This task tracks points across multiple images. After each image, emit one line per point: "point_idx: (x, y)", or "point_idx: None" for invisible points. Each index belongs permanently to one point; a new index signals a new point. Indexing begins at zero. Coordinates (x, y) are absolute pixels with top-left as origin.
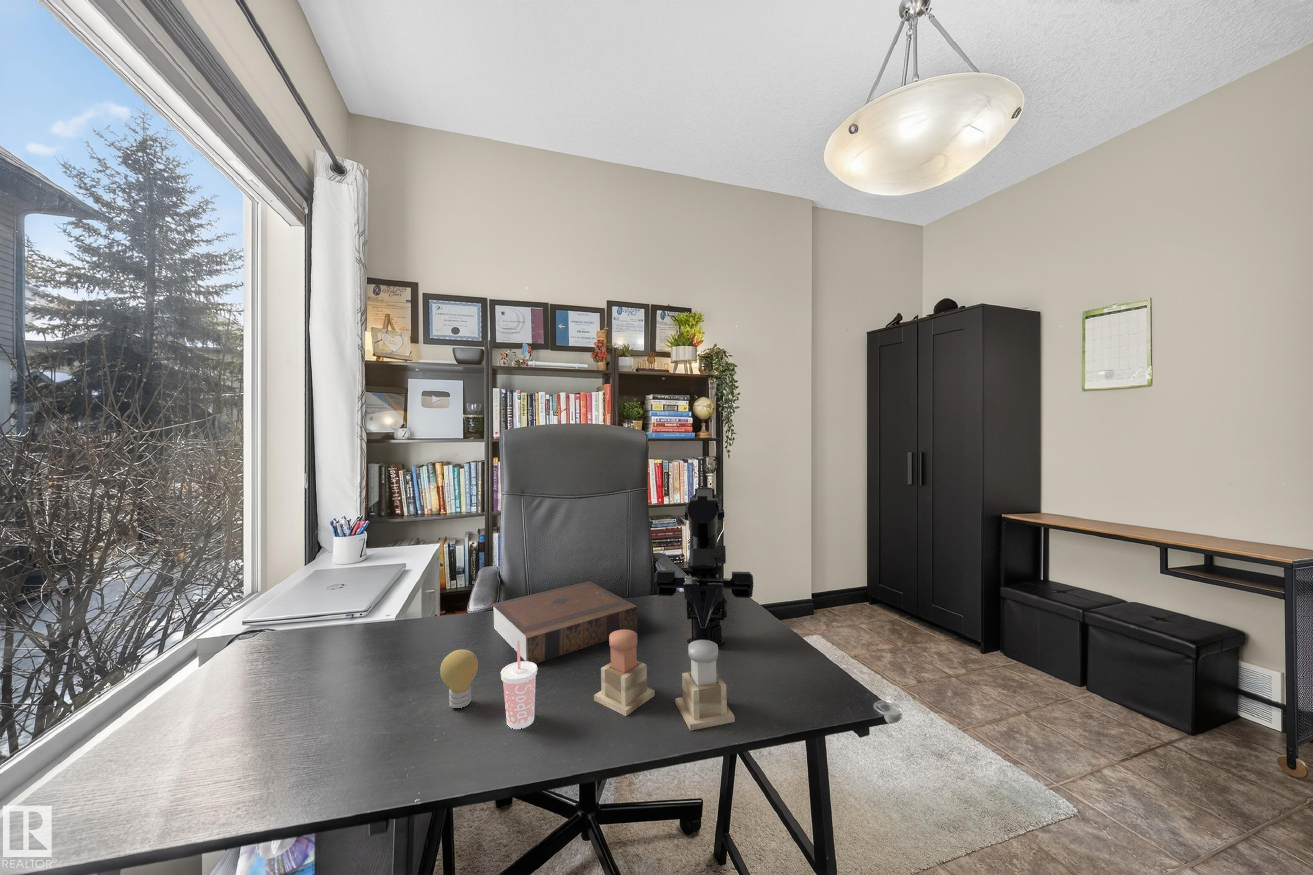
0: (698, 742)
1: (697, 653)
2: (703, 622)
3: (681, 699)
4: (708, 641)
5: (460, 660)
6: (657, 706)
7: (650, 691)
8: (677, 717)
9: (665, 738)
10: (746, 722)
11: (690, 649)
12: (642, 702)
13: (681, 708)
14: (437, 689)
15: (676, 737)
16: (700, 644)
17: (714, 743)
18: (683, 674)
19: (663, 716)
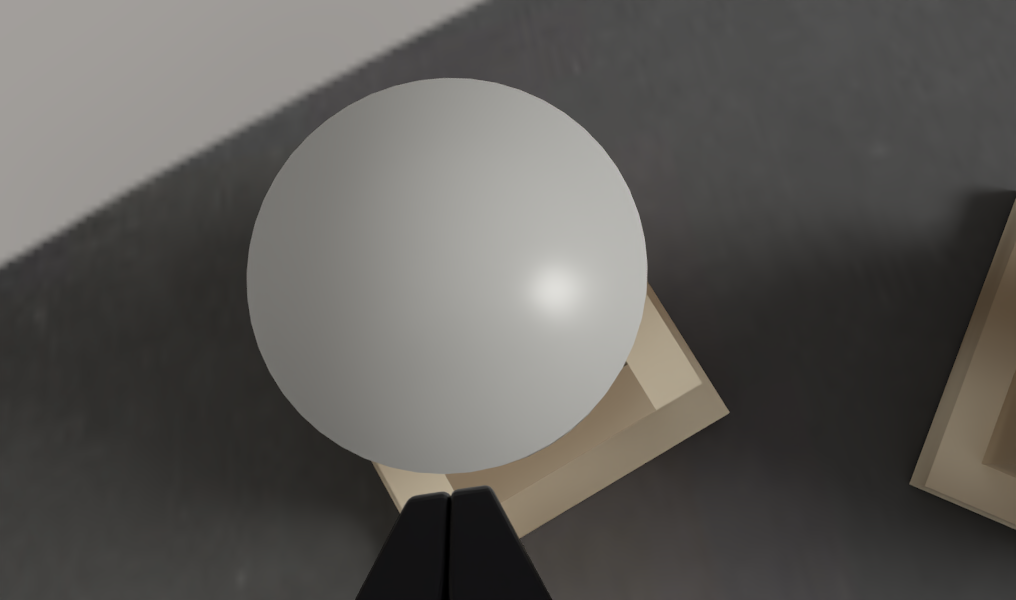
0: (489, 61)
1: (489, 84)
2: (442, 526)
3: (681, 406)
4: (394, 435)
5: None
6: (842, 353)
7: (950, 460)
8: (669, 263)
9: (690, 46)
10: (219, 318)
11: (595, 150)
12: (964, 351)
13: (655, 297)
14: None
15: (627, 71)
16: (490, 320)
17: (396, 75)
18: (683, 361)
19: (765, 251)
